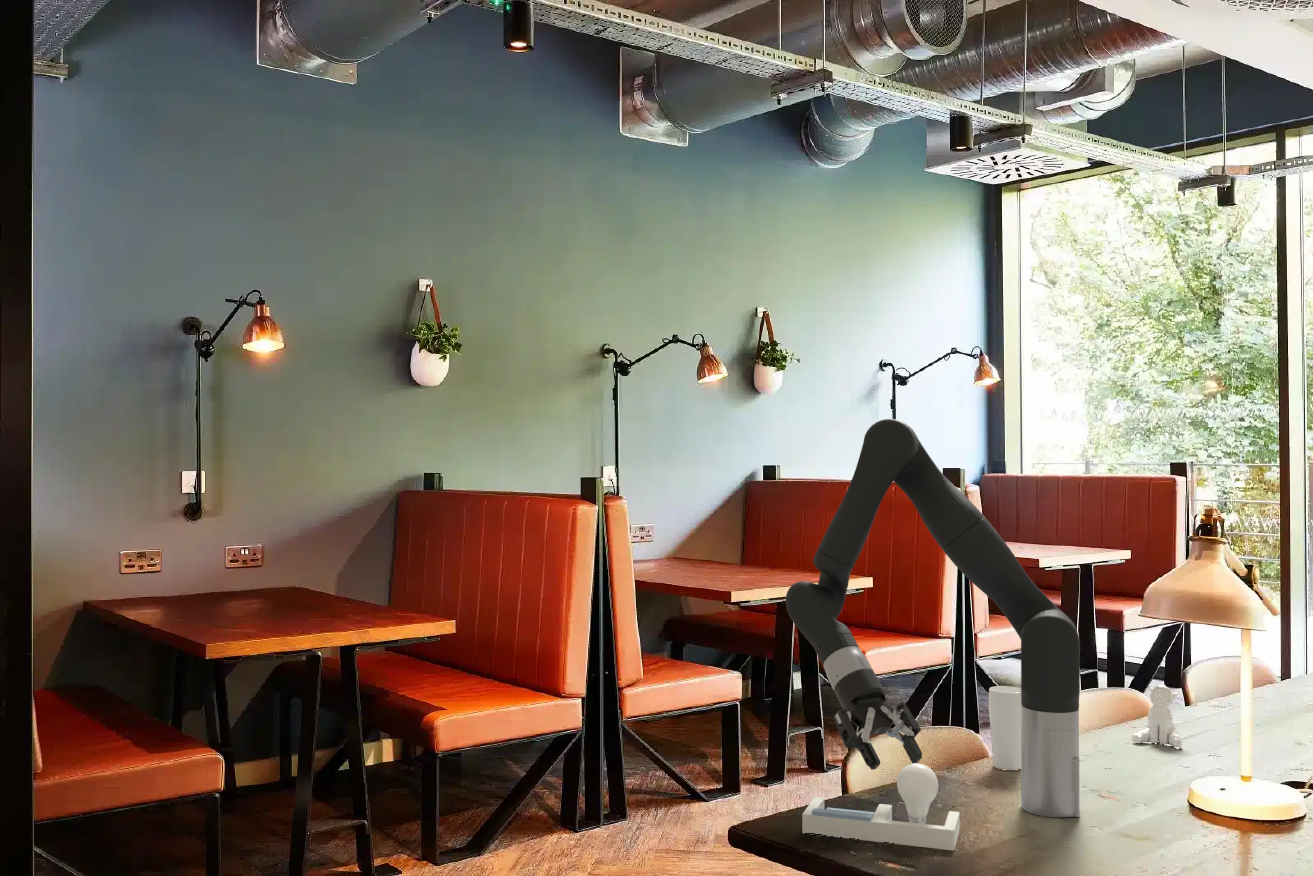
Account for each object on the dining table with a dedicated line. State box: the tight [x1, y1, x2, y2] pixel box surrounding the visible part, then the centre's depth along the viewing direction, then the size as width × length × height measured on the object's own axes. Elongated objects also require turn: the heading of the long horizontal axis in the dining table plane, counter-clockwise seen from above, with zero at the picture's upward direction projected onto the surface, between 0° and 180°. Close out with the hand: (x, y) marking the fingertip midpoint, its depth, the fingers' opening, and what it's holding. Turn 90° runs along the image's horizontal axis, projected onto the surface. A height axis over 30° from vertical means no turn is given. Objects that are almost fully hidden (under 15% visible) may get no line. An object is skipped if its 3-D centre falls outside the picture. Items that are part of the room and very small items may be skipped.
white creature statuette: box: [1131, 684, 1183, 748], centre depth 240 cm, size 10×9×12 cm
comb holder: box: [801, 796, 961, 851], centre depth 182 cm, size 23×11×4 cm, turn 70°
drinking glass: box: [988, 685, 1021, 770], centre depth 219 cm, size 7×7×15 cm
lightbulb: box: [896, 762, 939, 824], centre depth 180 cm, size 6×6×11 cm
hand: (897, 764), depth 184 cm, fingers open, 8 cm apart
